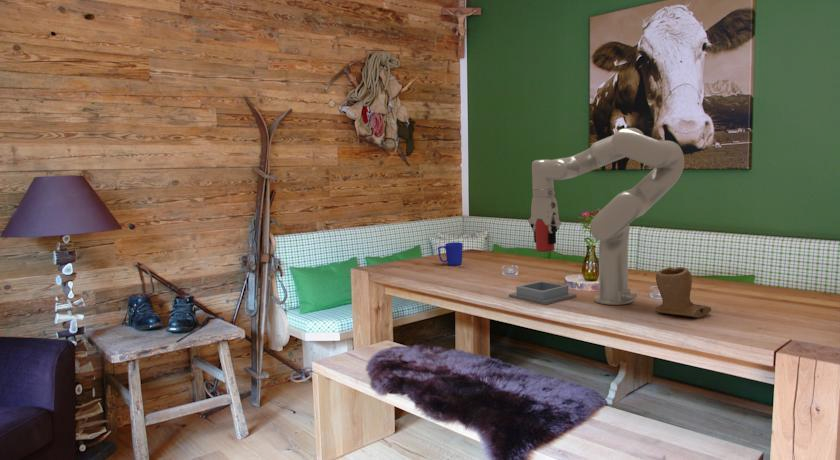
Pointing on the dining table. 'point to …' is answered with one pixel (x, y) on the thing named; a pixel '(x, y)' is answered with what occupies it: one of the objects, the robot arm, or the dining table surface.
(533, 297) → the box
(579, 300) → the dining table surface
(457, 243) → the mug
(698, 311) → the brown l-shaped piece
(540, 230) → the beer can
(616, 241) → the robot arm
